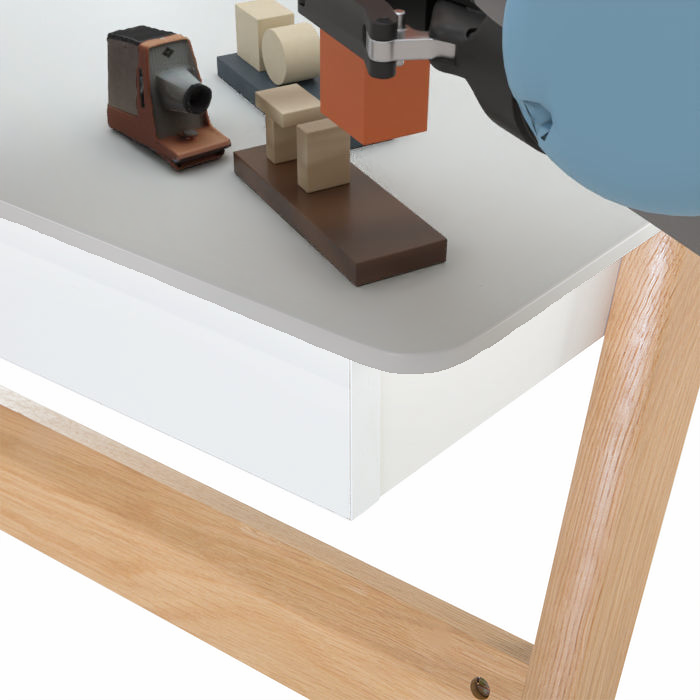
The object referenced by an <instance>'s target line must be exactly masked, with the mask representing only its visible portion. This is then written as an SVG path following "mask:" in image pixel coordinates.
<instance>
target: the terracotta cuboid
mask: <svg viewBox="0 0 700 700" xmlns="http://www.w3.org/2000/svg"><path fill="white" fill-rule="evenodd" d="M319 39H320V112H321V113H322V114H323V115H325V116H326V117H327V118H329V119H330V120H331V121H332V122H334V123H335V124H336V125H338V126H339V127H340V128H342V129H343V130H344V131H345V132H347V133H348V134H349V135H351V136H352V137H353V138H355V139H356V140H357V141H358V142H360V143H361V144H362V145H364V146H368V145H373V144H378V143H381V142H386V141H391V140H394V139H399V138H403V137H407V136H412V135H416V134H421V133H425V132H427V131H428V121H429V120H428V119H429V99H430V79H431V78H430V76H431V64H430V62H429V60H428V59H426V60H404V64H403V65H402V66H399V67H396V75H395V76H394V77H392V78H390V79H377V78H373V77H371V76H370V75H369V74H368V71H367V68H366V65H365V63H364V60H363V59H362V58H360V57H359V56H357V55H356V54H355V53H353V52H352V51H351V50H349V49H348V48H346V47H345V46H344V45H342V44H341V43H340V42H338V41H337V40H335V39H334V38H333V37H331V36H330V35H329V34H327V33H326V32H324V31H323V30H322V29H320V28H319Z"/></svg>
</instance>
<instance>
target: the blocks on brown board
mask: <svg viewBox="0 0 700 700" xmlns="http://www.w3.org/2000/svg"><path fill="white" fill-rule="evenodd" d="M255 104H256V106H255V107H256V108H257V107H258V108H257V109H258V110H260V111H261V112H262V113H263V114H265V115H264V122H265V144H261V145H257V146H252V147H247V148H243V149H238V150H234V151H233V152H232V155H233V156H232V157H233V172H234V173H235V175H236V176H238V177H239V178H240V179H241V180H242V181H243V182H244V183H245V184H247V186H249V188H251V189H252V190H253V191H254V192H255V193H256V194H257V195H258V196H259V197H260V198H261V199H262V200H264V202H265V203H267V204H268V205H269V206H270V207H271V208H272V209H273V210H274V211H275V212H276V213H277V214H278V215H279V216H281V217H282V218H283V219H284V220H285V221H286V222H287V223H288V224H289V225H290V226H291V227H292V228H293V229H294V230H295V231H297V232H298V233H299V235H301V236H302V237H303V238H304V239H305V240H306V241H307V242H308V243H310V245H311V246H313V247H314V249H316V250H317V251H318V252H319V253H320V254H321V255H322V256H323V257H324V258H325V259H327V260H328V261H329V262H330V263H331V264H332V265H333V266H334V267H335V268H336V269H337V270H338V271H339V272H340V273H341V274H342V275H344V276H345V278H347V279H348V280H349V281H350V282H351V283H352V284H353V285H354V286H355V287H359V286H363V285H367V284H370V283H375V282H377V281H381V280H385V279H388V278H391V277H395V276H399V275H401V274H406V273H409V272H411V271H416V270H419V269H423V268H426V267H430V266H433V265H436V264H440V263H444V262H446V261H447V252H448V238H447V237H446V236H444V235H443V234H442V233H441V232H439V231H438V230H437V229H436V228H434V226H432V225H431V224H429V223H428V222H426V220H424V219H423V218H422V217H421V216H419V215H418V214H417V213H416V212H414V211H413V210H412V209H411V208H410V207H408V206H406V205H405V204H404V203H403V202H401V201H400V200H399V199H398V198H397V197H395V196H394V195H393V194H392V193H390V192H389V191H387V189H385V188H384V187H383V186H382V185H380V184H379V183H378V182H377V181H375V180H374V179H373V178H371V177H370V176H369V175H368V174H366V173H365V172H364V171H363V170H361V169H360V168H359V167H357V165H355V164H354V163H352V162H351V149H350V135H349V134H348V133H347V132H345V131H344V130H343V129H342V128H340V127H339V126H338V125H336V124H335V123H334V122H332V121H331V120H330V119H329V118H326V119H325V115H323V114H322V113H321V112H320V101H319V100H318V99H317V98H315V97H314V96H313V95H311V94H310V93H309V92H307V91H306V90H305V89H303V88H302V87H301V86H299V85H298V84H291V85H286V86H281V87H276V88H271V89H266V90H262V91H257V92H255Z"/></svg>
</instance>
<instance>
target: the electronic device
mask: <svg viewBox="0 0 700 700" xmlns="http://www.w3.org/2000/svg"><path fill="white" fill-rule="evenodd" d="M106 42H107V43H106V44H107V45H106V46H107V105H106V118H107V120H106V121H107V125H108V127H109V128H110V129H111V130H114V131H116V132H120V134H123V135H124V136H126V137H127V138H129V139H130V140H132V141H134V142H135V143H136V144H139V145H141V146H143V147H144V148H145V149H149V150H152V151H154V152H155V153H156V155H158V156H160V157H161V158H162V159H163V160H164V161H165V162H167V163H169V165H170V167H171V168H172V169H173V170H175V171H179V172H180V171H181V170H185V169H187V168H190V167H195V166H197V165H201V164H203V163H204V164H205V163H207V162H211V161H215V160H219V159H221V158H222V157H223V156H224V155H225V153H226V149H228V148H230V147H232V141H231V138H229V137H228V136H226V135H225V134H224V133H222V132H221V131H220V130H219V129H217V128H216V127H215V126H213V124H212V123H211V119H210V116H209V113H208V109H209V107H210V105H211V102H212V99H213V91H212V89H211V87H209V86H207V85H205V84H203V80H202V77H201V74H200V71H199V68H198V61H197V59H196V56H195V52H194V48H193V45H192V43H191V42H192V41H191V40H190V39H189V38H188V37H187V36H184V35H183V34H181V33H179V34H178V33H176V32H174V31H171V30H170V31H169V30H163V29H159V28H156V27H151V26H147V25H144V24H141V25H140V24H139V25H136V26H133V27H127V28H125V29H116V30H114V31H111V32H108V33H107V35H106Z"/></svg>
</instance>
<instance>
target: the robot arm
mask: <svg viewBox="0 0 700 700" xmlns="http://www.w3.org/2000/svg"><path fill="white" fill-rule="evenodd" d="M297 12H298V14H299V15H301V16H302V17H304V18H305V19H307V20H308V21H309V22H311V23H312V24H313V25H315V26H316V27H318V28H319V30H320V29H322V30H323V31H324V32H326V33H327V34H329V35H330V36H331V37H333V38H334V39H335V40H337V41H338V42H340V43H341V44H342V45H344V46H345V47H346V48H348V49H349V50H351V51H352V52H353V53H355V54H356V55H357V56H359V57H360V58H362V59H363V60H364V63H365V65H366V68H367V71H368V74H369V75H370V76H371V77H373V78H377V79H390V78H392V77H394V76H395V75H396V67H399V66H402V65H403V64H404V60H426V59H428V60H429V62H430V66H431V67H433V68H434V69H435V70H436V71H438V72H441V73H445V74H449V75H453V76H456V77H460V78H462V79H464V80H465V81H466V83H467V84H468V86H469V88H470V89H471V91H472V93H473V95H474V97H475V98H476V100H477V102H478V104H479V106H480V108H481V109H482V111H483V113H484V114H485V115H486V116H487V117H488V118H489V119H490V121H492V123H494V124H495V125H497V126H498V127H500V128H501V129H503V130H504V131H506V132H507V133H509V134H510V135H512V136H513V137H515V138H517V139H518V140H520V141H521V142H523V143H525V144H526V145H527V146H529V147H530V148H532V149H534V150H535V151H537V152H539V153H541V154H543V155H545V156H547V157H548V158H549V160H550V161H551V162H552V163H553V164H555V166H557V167H558V168H559V169H560V170H561V171H562V172H563V173H565V174H566V175H567V176H568V177H569V178H571V179H572V180H573V181H575V182H576V183H578V184H579V185H581V186H582V187H583V188H585V189H586V190H588V191H590V192H591V193H594V194H595V195H598V196H599V197H601V198H602V199H605V200H607V201H610V202H612V203H615V204H618V205H620V206H622V207H626V208H628V209H629V210H630V211H631V212H633V213H634V214H636V215H638V216H639V217H640V218H642V219H643V220H645V221H646V222H648V223H650V224H651V225H653V226H654V227H656V229H658V230H660V231H661V232H663V233H664V234H666V235H667V236H668V237H670V238H672V239H673V240H675V241H676V242H677V243H679V244H681V245H682V246H684V247H685V248H687V249H688V250H689V251H691V252H692V253H694V254H696V255H697V256H698V257H700V0H297Z"/></svg>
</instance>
